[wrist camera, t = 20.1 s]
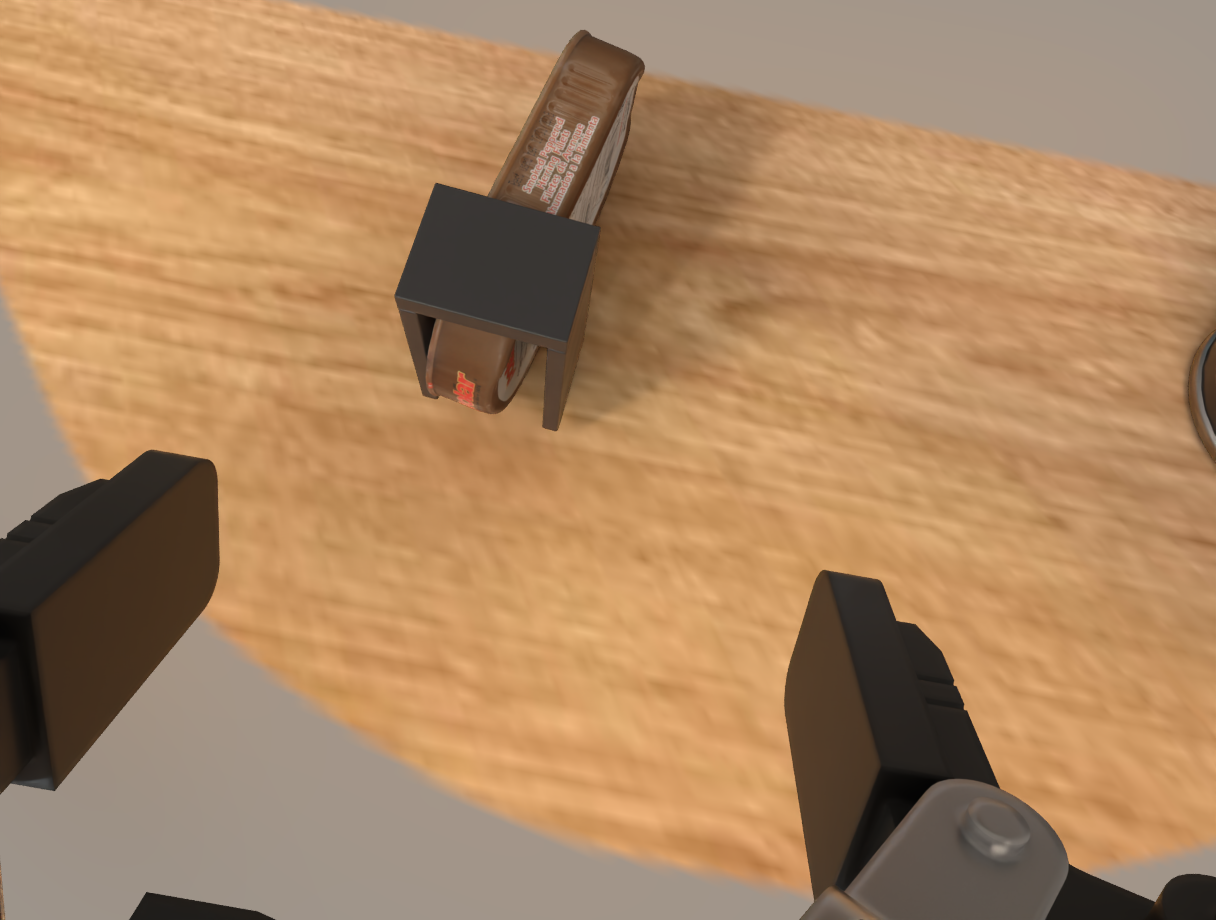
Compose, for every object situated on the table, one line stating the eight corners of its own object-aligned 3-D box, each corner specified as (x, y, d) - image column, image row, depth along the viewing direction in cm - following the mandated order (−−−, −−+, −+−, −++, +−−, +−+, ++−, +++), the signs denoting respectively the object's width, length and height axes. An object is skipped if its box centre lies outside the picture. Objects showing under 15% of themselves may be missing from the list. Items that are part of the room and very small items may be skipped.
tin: (574, 131, 40) (583, -30, 32) (641, 156, 40) (667, 0, 32) (429, 427, 35) (398, 322, 27) (506, 456, 35) (496, 360, 27)
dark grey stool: (584, 338, 35) (601, 226, 28) (557, 432, 34) (567, 342, 26) (453, 302, 35) (435, 181, 28) (422, 396, 34) (393, 296, 26)
